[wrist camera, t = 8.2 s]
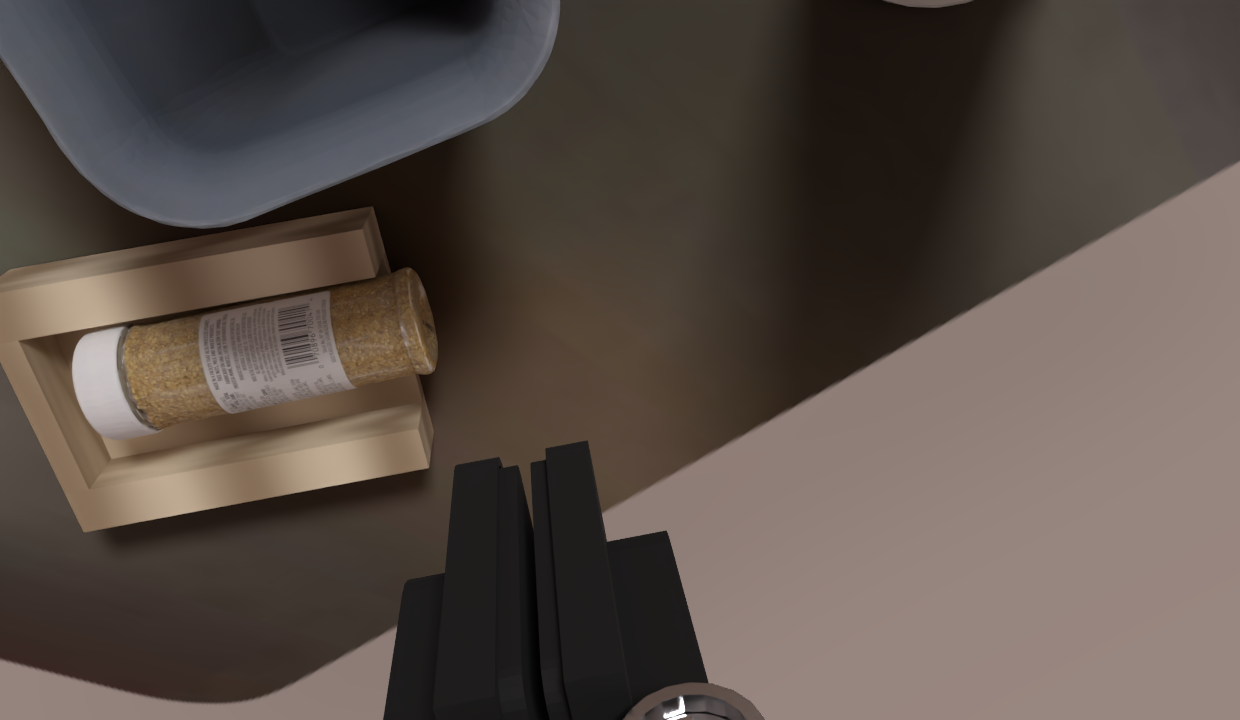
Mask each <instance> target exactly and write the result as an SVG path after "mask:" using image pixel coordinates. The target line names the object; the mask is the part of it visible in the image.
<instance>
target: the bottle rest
mask: <svg viewBox="0 0 1240 720" xmlns="http://www.w3.org/2000/svg"><path fill="white" fill-rule="evenodd" d="M390 273H391V271H390V267H389V264H388V260H387V256H386V252H385V249H384V245H383V241H382V238H381V234H380V230H379V227H378V223H377V219H376V216H375V212H374V208H373V206H371V207H365V208H359V209H354V210H348V211H342V212H336V213H331V214H325V215H319V216H313V217H308V218H302V219H296V220H290V221H285V222H279V223H273V224H267V225H262V226H256V227H250V228H244V229H239V230H233V231H227V232H222V233H216V234H210V235H204V236H199V237H193V238H187V239H181V240H176V241H170V242H164V243H158V244H153V245H147V246H141V247H135V248H130V249H124V250H118V251H112V252H107V253H101V254H95V255H90V256H84V257H78V258H72V259H67V260H61V261H55V262H49V263H44V264H38V265H32V266H26V267H21V268H15V269H10V270H9V271H7V272H6V273H4V274H3V275H2V276H0V362H1V364H2V366H3V368H4V371H5V373H6V375H7V377H8V379H9V381H10V383H11V385H12V387H13V389H14V391H15V393H16V395H17V397H18V399H19V401H20V403H21V405H22V407H23V409H24V411H25V413H26V415H27V417H28V419H29V421H30V423H31V426H32V428H33V430H34V432H35V434H36V436H37V438H38V440H39V442H40V444H41V446H42V448H43V450H44V452H45V454H46V456H47V458H48V460H49V462H50V464H51V466H52V468H53V470H54V472H55V474H56V476H57V479H58V481H59V483H60V485H61V487H62V489H63V491H64V493H65V495H66V497H67V499H68V501H69V503H70V505H71V507H72V509H73V511H74V513H75V515H76V517H77V519H78V521H79V523H80V525H81V527H82V529H83V531H84V532H89V531H94V530H100V529H105V528H110V527H116V526H121V525H127V524H132V523H137V522H143V521H148V520H153V519H159V518H164V517H169V516H175V515H180V514H185V513H191V512H196V511H201V510H207V509H212V508H217V507H223V506H228V505H234V504H239V503H244V502H250V501H255V500H260V499H266V498H271V497H276V496H282V495H287V494H292V493H298V492H303V491H308V490H314V489H319V488H325V487H330V486H335V485H341V484H346V483H351V482H357V481H362V480H367V479H373V478H378V477H383V476H389V475H394V474H399V473H405V472H410V471H415V470H421V469H426V468H429V464H430V457H431V449H432V442H433V434H434V430H433V426H432V422H431V419H430V415H429V411H428V407H427V404H426V400H425V396H424V393H423V389H422V385H421V382H420V378H419V374H413V375H409V376H404V377H398V378H395V379H389V380H385V381H381V382H377V383H369V384H366V385H361V386H359V387H357V388H355V389H350V390H345V391H340V392H335V393H330V394H325V395H321V396H316V397H311V398H306V399H301V400H296V401H291V402H286V403H282V404H277V405H272V406H267V407H263V408H258V409H253V410H249V411H244V412H239V413H234V414H231V413H228V414H222V415H218V416H211V417H208V418H206V419H200V420H193V421H190V422H185V423H180V424H175V425H173V426H171V427H167V428H165V429H163V430H162V431H160V432H158V433H155V434H150V435H146V436H141V437H136V438H130V439H124V440H111V439H108V438H106V437H104V436H102V435H101V434H99V433H98V432H97V431H96V430H95V429H94V428H93V427H92V426H91V424H90V423H89V422H88V420H87V419H86V417H85V415H84V414H83V412H82V410H81V407H80V405H79V403H78V400H77V397H76V393H75V389H74V384H73V378H72V362H73V355H74V351H75V348H76V346H77V344H78V342H79V341H80V339H81V338H82V337H83V336H84V335H86V334H88V333H90V332H93V331H96V330H100V329H104V328H108V327H112V326H117V325H122V324H127V323H134V324H136V323H139V324H140V323H144V324H151V323H155V322H159V321H166V320H170V319H175V318H178V317H184V316H188V315H190V314H196V313H202V312H207V311H210V310H215V309H220V308H223V307H229V306H233V305H238V304H244V303H248V302H253V301H256V300H257V299H260V298H263V297H268V296H273V295H278V294H284V293H290V292H295V291H301V290H307V289H312V288H318V287H324V286H329V285H335V284H341V283H346V282H352V281H357V280H363V279H369V278H374V277H376V276H381V275H386V274H390Z"/></svg>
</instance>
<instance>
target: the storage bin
mask: <svg viewBox="0 0 1240 720" xmlns="http://www.w3.org/2000/svg"><path fill="white" fill-rule="evenodd" d="M559 15H560V0H0V58H1V60H2V61H3V63H4V64H5V66H6V67H7V69H8V70H9V71H10V73H11V74H12V76H13V77H14V79H15V80H16V81H17V83H18V84H19V86H20V87H21V89H22V90H23V92H24V93H25V95H26V96H27V98H28V99H29V101H30V103H31V104H32V106H33V107H34V109H35V110H36V112H37V113H38V115H39V116H40V117H41V119H42V120H43V122H44V124H45V125H46V127H47V129H48V130H49V132H50V134H51V135H52V137H53V138H54V140H55V141H56V143H57V144H58V146H59V148H60V149H61V150H62V152H63V153H64V154H65V155H66V157H67V158H68V159H69V160H70V162H71V163H72V164H73V165H74V167H75V168H76V169H77V170H78V172H79V173H80V174H81V175H82V176H83V177H85V178H86V179H87V180H88V181H89V182H90V183H91V184H92V185H93V186H95V187H96V188H97V189H98V190H99V191H100V192H101V193H102V194H104V195H105V196H107V197H108V198H109V199H111V200H112V201H114V202H115V203H117V204H118V205H120V206H121V207H123V208H125V209H127V210H129V211H131V212H133V213H135V214H137V215H139V216H142V217H145V218H148V219H151V220H154V221H156V222H159V223H162V224H167V225H171V226H177V227H187V228H201V229H205V228H215V227H226V226H230V225H233V224H237V223H240V222H244V221H247V220H249V219H252V218H254V217H257V216H259V215H262V214H264V213H267V212H269V211H271V210H274V209H276V208H279V207H281V206H284V205H286V204H289V203H291V202H294V201H296V200H299V199H301V198H304V197H306V196H309V195H311V194H314V193H316V192H319V191H321V190H324V189H326V188H329V187H332V186H334V185H337V184H339V183H342V182H344V181H347V180H349V179H352V178H354V177H357V176H360V175H362V174H365V173H367V172H370V171H372V170H375V169H377V168H380V167H382V166H385V165H387V164H390V163H392V162H395V161H397V160H400V159H402V158H404V157H407V156H409V155H412V154H414V153H416V152H419V151H421V150H424V149H426V148H429V147H431V146H433V145H436V144H438V143H441V142H443V141H445V140H448V139H450V138H453V137H455V136H458V135H460V134H462V133H465V132H467V131H469V130H472V129H474V128H476V127H478V126H481V125H483V124H485V123H487V122H490V121H492V120H494V119H495V118H497V117H498V116H500V115H502V114H503V113H505V112H506V111H508V110H509V109H510V108H511V107H512V106H513V105H515V104H516V103H517V102H518V101H519V100H520V99H521V98H522V97H523V96H524V95H525V94H526V93H527V92H528V91H529V89H530V88H531V87H532V86H533V85H534V83H535V82H536V80H537V79H538V77H539V75H540V74H541V72H542V70H543V69H544V67H545V65H546V63H547V61H548V59H549V56H550V54H551V52H552V48H553V44H554V41H555V37H556V33H557V29H558V22H559Z"/></svg>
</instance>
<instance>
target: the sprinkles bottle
mask: <svg viewBox="0 0 1240 720" xmlns="http://www.w3.org/2000/svg"><path fill="white" fill-rule="evenodd" d="M437 360H438V342H437V336H436V330H435V325H434V320H433V315H432V312H431V309H430V306H429V303H428V298H427V295H426V292H425V289H424V287H423V285H422V282H421V280H420V278H419V276H418V274H417V273H416V272H415V271H414V270H413V269H411V268H409V267H406V268H402V269H399V270H398V271H396V272H393V273H390V274H386V275H381V276H376V277H374V278H369V279H363V280H357V281H352V282H346V283H341V284H335V285H329V286H324V287H318V288H312V289H307V290H301V291H295V292H290V293H284V294H278V295H273V296H268V297H263V298H260V299H257V300H256V301H253V302H248V303H244V304H238V305H233V306H229V307H223V308H220V309H215V310H210V311H207V312H202V313H196V314H190V315H188V316H184V317H178V318H175V319H170V320H166V321H159V322H155V323H151V324H144V323H140V324H139V323H136V324H134V323H127V324H122V325H117V326H112V327H108V328H104V329H100V330H96V331H93V332H90V333H88V334H86V335H84V336H83V337H82V338H81V339H80V341H79V342H78V344H77V346H76V348H75V351H74V355H73V362H72V378H73V384H74V389H75V393H76V397H77V400H78V403H79V405H80V407H81V410H82V412H83V414H84V415H85V417H86V419H87V420H88V422H89V423H90V424H91V426H92V427H93V428H94V429H95V430H96V431H97V432H98V433H99V434H101V435H102V436H104V437H106V438H108V439H111V440H124V439H130V438H136V437H141V436H146V435H150V434H155V433H158V432H160V431H162V430H163V429H165V428H167V427H171V426H173V425H175V424H180V423H185V422H190V421H193V420H200V419H206V418H208V417H211V416H218V415H222V414H228V413H231V414H234V413H239V412H244V411H249V410H253V409H258V408H263V407H267V406H272V405H277V404H282V403H286V402H291V401H296V400H301V399H306V398H311V397H316V396H321V395H325V394H330V393H335V392H340V391H345V390H350V389H355V388H357V387H359V386H361V385H366V384H369V383H377V382H381V381H385V380H389V379H395V378H398V377H404V376H409V375H413V374H423V375H427V374H431V373H432V372H434V370H435V368H436V364H437Z"/></svg>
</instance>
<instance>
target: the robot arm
mask: <svg viewBox="0 0 1240 720" xmlns="http://www.w3.org/2000/svg"><path fill="white" fill-rule="evenodd" d="M883 1H885V2H888V3H894V4H899V5H904V6H908V7H930V8H939V7H945V6H951V5H957V4H963V3H968V2H970V1H973V0H883ZM545 450H546V460H543V461H538V462H532V463H531V484H532V504H533V524H534V530H533V526H532V522H531V517H530V513H529V509H528V504H527V500H526V496H525V491H524V487H523V483H522V478H521V474H520V470H519V467H518V465H516V466H511V467H506V468H503V466H502V463H501V460H500V458H499V457H497V458H492V459H486V460H481V461H475V462H470V463H465V464H459V465H456V466H455V470H454V480H453V491H452V502H451V513H450V524H449V535H448V546H447V557H446V568H445V573H442V574H437V575H431V576H426V577H421V578H416V579H410V580H408V581H407V582H406V583H405V585H404V589H403V593H402V600H401V607H400V613H399V620H398V626H397V633H396V640H395V647H394V653H393V659H392V666H391V672H390V679H389V686H388V692H387V699H386V705H385V712H384V718H383V720H765V719H764V717H763V716H762V715H761V713H760V712H759V711H758V710H757V709H756V707H755V706H754V705H753V703H752V702H751V701H749V700H748V699H746V698H745V697H743V696H742V695H740V694H739V693H737V692H736V691H734V690H731V689H728V688H725V687H721V686H719V685H715V684H712V683H711V684H710V683H708V679H707V676H706V672H705V668H704V664H703V661H702V657H701V653H700V650H699V646H698V642H697V639H696V635H695V631H694V628H693V624H692V620H691V616H690V613H689V609H688V605H687V602H686V598H685V594H684V591H683V587H682V583H681V580H680V576H679V572H678V568H677V565H676V561H675V557H674V554H673V550H672V546H671V543H670V539H669V536H668V533H667V531H662V532H656V533H652V534H646V535H641V536H636V537H630V538H625V539H620V540H614V541H610V542H607V539H606V534H605V529H604V524H603V518H602V513H601V508H600V502H599V497H598V492H597V487H596V481H595V476H594V471H593V465H592V460H591V455H590V450H589V445H588V441H583V442H577V443H572V444H567V445H561V446H556V447H550V448H546V449H545Z"/></svg>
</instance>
